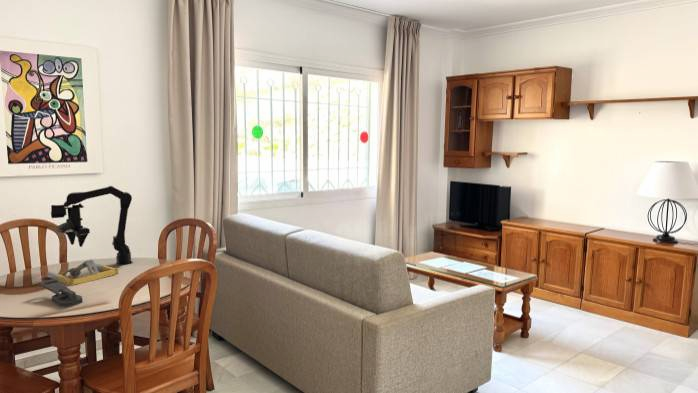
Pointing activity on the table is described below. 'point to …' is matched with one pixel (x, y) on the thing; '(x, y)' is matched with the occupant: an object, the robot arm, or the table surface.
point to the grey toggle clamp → (66, 295)
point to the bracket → (83, 265)
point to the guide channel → (108, 272)
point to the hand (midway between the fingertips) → (76, 245)
